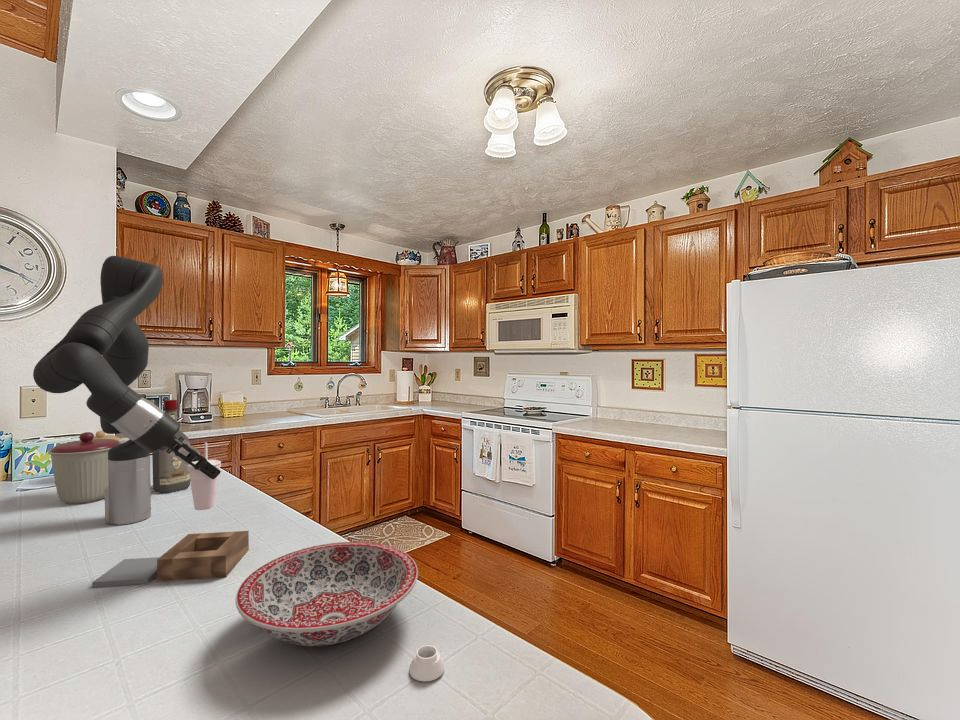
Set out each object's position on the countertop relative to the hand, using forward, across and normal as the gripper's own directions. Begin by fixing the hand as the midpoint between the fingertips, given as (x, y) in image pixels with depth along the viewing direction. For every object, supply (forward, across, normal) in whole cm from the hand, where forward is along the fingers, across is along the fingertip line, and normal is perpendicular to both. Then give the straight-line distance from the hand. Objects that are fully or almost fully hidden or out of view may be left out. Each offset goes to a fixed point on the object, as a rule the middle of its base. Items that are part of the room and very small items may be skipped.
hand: (212, 472), depth 100 cm
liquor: (+17, +70, +12) cm, 73 cm away
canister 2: (+5, +102, +24) cm, 105 cm away
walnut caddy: (+13, 0, +15) cm, 20 cm away
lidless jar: (+24, -60, +4) cm, 65 cm away
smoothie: (+4, 0, +6) cm, 8 cm away
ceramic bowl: (+21, -39, +8) cm, 45 cm away
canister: (+2, +76, +27) cm, 81 cm away
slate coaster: (+5, +6, +24) cm, 25 cm away
